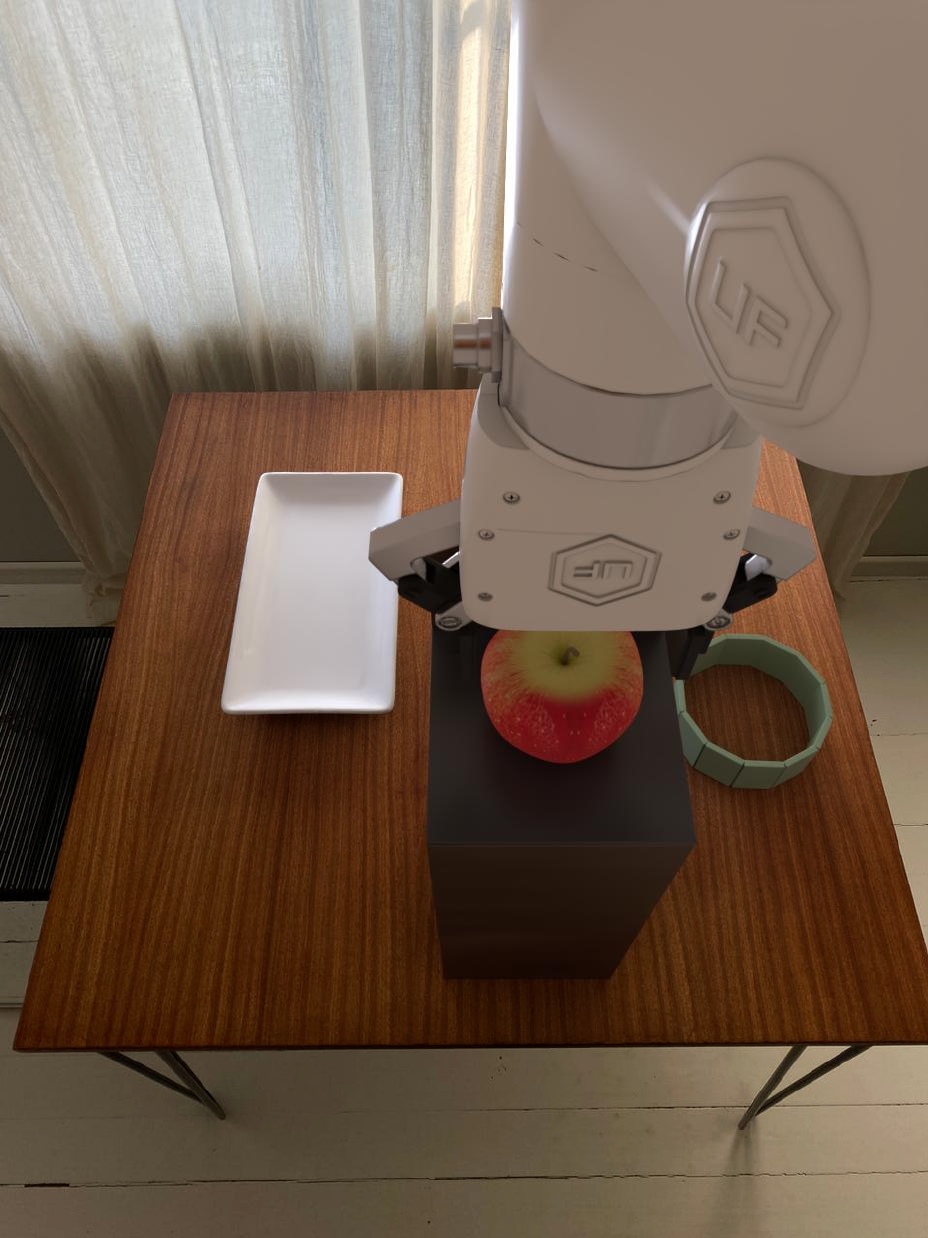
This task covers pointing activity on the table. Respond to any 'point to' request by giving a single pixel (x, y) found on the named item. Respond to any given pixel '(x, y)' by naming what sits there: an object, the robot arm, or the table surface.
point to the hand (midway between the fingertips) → (571, 653)
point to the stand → (549, 829)
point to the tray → (315, 598)
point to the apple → (561, 690)
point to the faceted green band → (778, 665)
